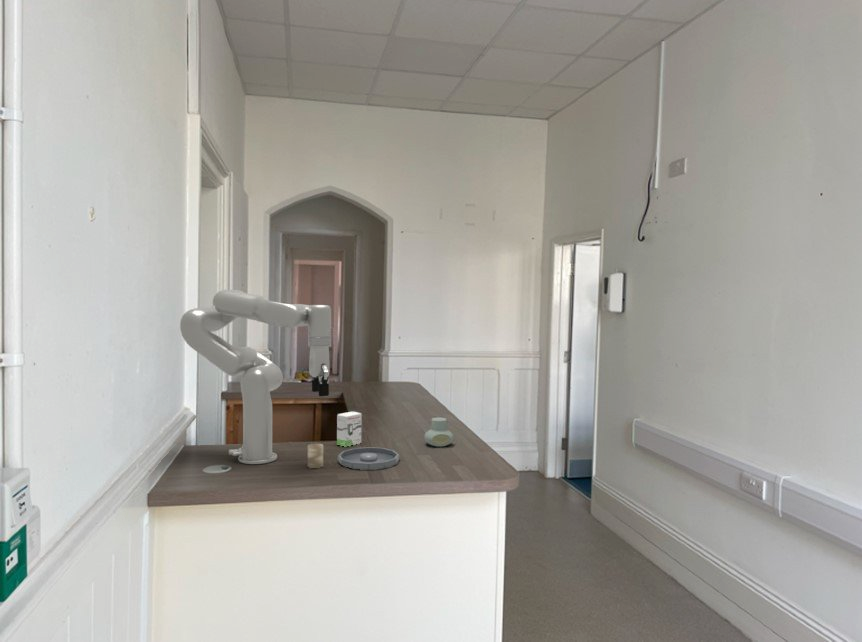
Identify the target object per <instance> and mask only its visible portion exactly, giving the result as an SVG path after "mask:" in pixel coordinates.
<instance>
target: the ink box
mask: <svg viewBox="0 0 862 642" xmlns="http://www.w3.org/2000/svg"><path fill="white" fill-rule="evenodd" d="M362 414H363V413H361V412H358V411H348V412H342V413H337V415H336V424H337V425H336V446H337V445H340V446H339V447H342V446H344V447H343V448H348V447H347V446H349V447H352V446H351V445H353V446H357V445H361V444H362V423H363V422H362V421H363V420H362V417H363V415H362ZM360 443H361V444H360ZM356 444H357V445H356Z"/></svg>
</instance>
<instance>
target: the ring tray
mask: <svg viewBox="0 0 862 642" xmlns="http://www.w3.org/2000/svg"><path fill="white" fill-rule="evenodd" d="M399 461H400V454H399V453H398V452H397V451H396V450H393V449H390V448H385V447H374V446H373V447H372V446H371V447H370V446H368V447H367V446H365V447H353V448H351V449H346V450H343V451H341V452H340V453H339V454H338V455H337V462H338V464H339V463H340V464H341V465H343V466H346V467H349V468H353V469H352V470H355V469H360V470H359V471H378V469H379V470H385V469H389V468H391V467H394V466H396V465H398V463H399ZM340 464H339V465H340ZM341 465H340V466H341ZM343 466H342V467H343ZM346 467H345V468H346ZM349 468H348V469H349Z"/></svg>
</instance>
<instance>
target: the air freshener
mask: <svg viewBox="0 0 862 642" xmlns="http://www.w3.org/2000/svg"><path fill="white" fill-rule="evenodd" d="M430 421H431V425H430V426H431V427H430V429H428V431H426V432H425V433H424V436H423V437H424V440H425V442H426V443H427V444H428V445H430V446H432V447H436V448H443V447H446V446H448V445H450V444H451V443H452V442H453V440H454V434H453V433H452V432H451V431H450V429H448V420H447V418H446V417H440V416H439V417H432V418H431V420H430Z"/></svg>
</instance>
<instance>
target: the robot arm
mask: <svg viewBox="0 0 862 642" xmlns="http://www.w3.org/2000/svg"><path fill="white" fill-rule="evenodd" d="M331 308H332V307H331V306H330V305H326V304H310V305H309V304H305V303H304V304H303V303H294V304H293V303H284V302H283V303H282V302H277V301H273V300H268V299H266V298H265V297H264V296H263V295H259V294H254V293H247V292H244V291H242V290H240V289H222V290H219V291H218V292H217V293H215V295H214V296H213V298H212V306H211V307H198V308H197V307H196V308H192V309H189V310H187V311H185V313H184V314H182V316H181V319H180V324H179V328H180V333H181V336H182V338H183V340H184V342H185V343H186V344H187V345H188V346H189V347H190V348H191V349H192V350H193V351H195V352H196V353H198V354H200V355H201V356H203V357H204V358H205V359H206V360H207V361H209V362H210V363H212V364H213V365H214V366H215V367H217V369H219V370H220V371H222V372H223V373H225V374H226V375H228V376H230V377H236V376H241V379H240V390H241V391H240V392H241V396H242V415H243V416H242V421H243V422H242V428H243V429H242V443H243V444H242V445H241V447H238V448H236V449H235V448H232V449H228V456H232V457H237V456H238V458H237V460H238V462H239V463H242V464H245V465H261V464H269V463H271V462H274V461H276V460H277V459H278V454H277V453H275V452H273V401H272V397H271V392H272V391H275V390H277V389H278V388H279V387H281V385H282V383H283V379H284V376H283V371H282V370H281V368H280V367H279V366H278V365H277V364H275V363H274V362H273V361H272V360H270V359H269V358H267V357H266V356H265V355H264V354H261V352H259V351H257V350H256V349H254V348H252V347H250V346H237V347H236V346H234V345H232V344H230V343H229V342H228V341H226V340H225V339H224V338H222V337H220V336H219V335H217V334H215V333H213V332H217V331H220V330H221V329H223V328H225V327H226V326H228V325H229V324H230V323H232V322H234V321H235V320H236V319H238V318H242V319H248V320H250V321H251V320H253V321H256V322H259V323H264V324H267V325H272V326H277V327H283V328H299V327H306V326H307V336H308V337H307V340H308V341H307V347H308V348H309V358H308V360H309V362H308V363H309V364H308V373H309V375H310V376H311V392H312V393H314V392H315V393H316V392H317V393H318V397H327V396H329V395H330V392H329V391H330V390H329V389H330V383H329V382H330V381H329V376H330V373H331V372H330V369H331V368H330V367H331V366H330V350H329V349H330V348H329V347H332V309H331Z"/></svg>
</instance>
